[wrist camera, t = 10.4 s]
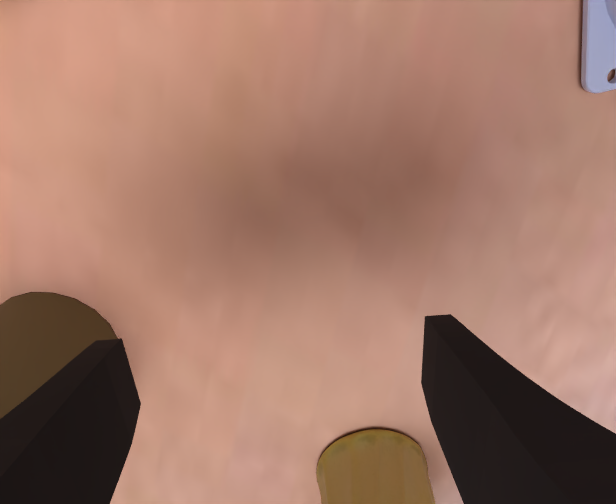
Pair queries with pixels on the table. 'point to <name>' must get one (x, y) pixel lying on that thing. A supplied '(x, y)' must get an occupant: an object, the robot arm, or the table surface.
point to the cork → (42, 341)
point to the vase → (374, 470)
